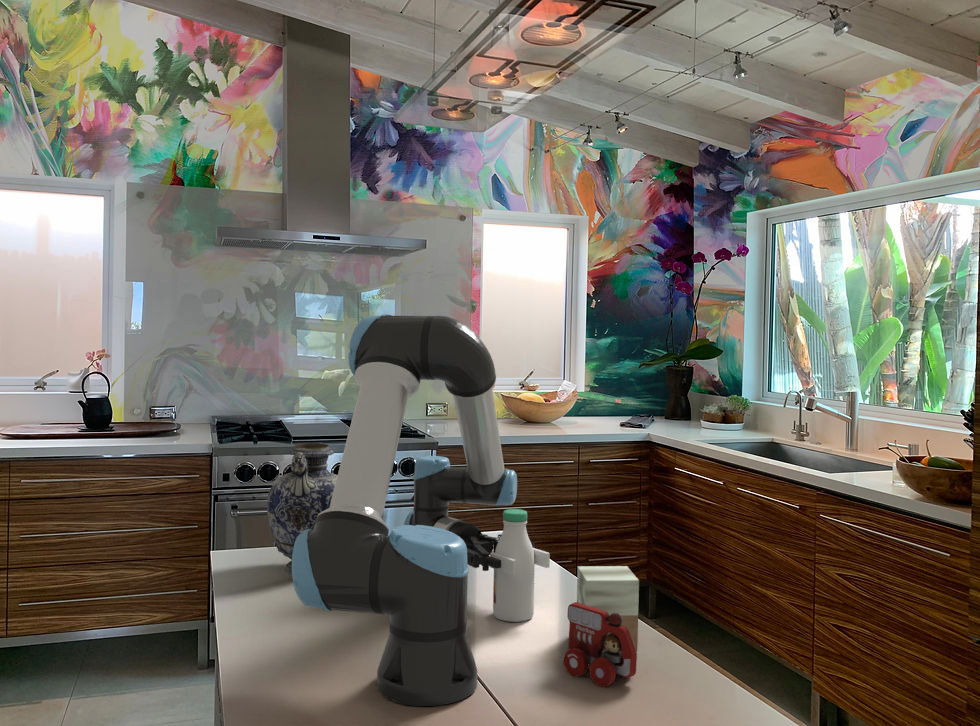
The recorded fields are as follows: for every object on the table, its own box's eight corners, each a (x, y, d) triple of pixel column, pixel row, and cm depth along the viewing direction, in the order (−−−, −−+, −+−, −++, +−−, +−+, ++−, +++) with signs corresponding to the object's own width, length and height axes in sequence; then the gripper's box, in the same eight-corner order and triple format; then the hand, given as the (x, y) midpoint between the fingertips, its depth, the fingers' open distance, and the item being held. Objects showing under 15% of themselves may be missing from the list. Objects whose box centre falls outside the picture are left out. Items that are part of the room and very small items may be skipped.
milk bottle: (542, 616, 155) (544, 511, 154) (515, 626, 149) (517, 517, 149) (511, 606, 160) (513, 505, 159) (484, 615, 154) (486, 510, 154)
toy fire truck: (620, 694, 122) (621, 625, 121) (554, 670, 130) (556, 605, 130) (645, 680, 127) (647, 614, 126) (580, 658, 135) (582, 595, 135)
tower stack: (637, 650, 139) (638, 580, 138) (584, 650, 138) (586, 580, 138) (625, 632, 147) (627, 566, 147) (576, 632, 147) (577, 566, 146)
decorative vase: (281, 554, 195) (284, 437, 194) (358, 557, 194) (361, 440, 193) (251, 581, 173) (254, 450, 172) (338, 585, 173) (341, 453, 172)
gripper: (495, 549, 175) (570, 574, 157) (415, 565, 162) (487, 594, 144) (496, 514, 175) (571, 536, 157) (416, 527, 162) (488, 552, 144)
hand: (531, 564), depth 150 cm, fingers closed on milk bottle, 8 cm apart
